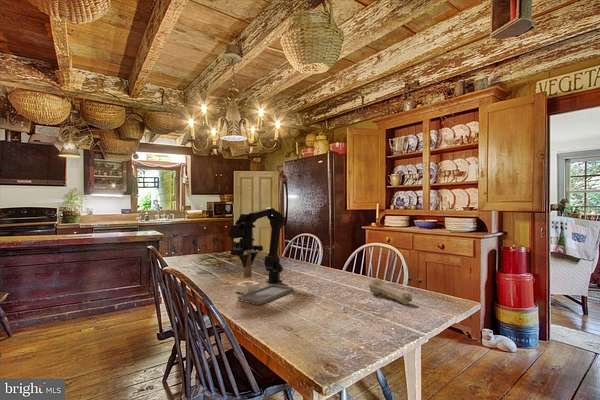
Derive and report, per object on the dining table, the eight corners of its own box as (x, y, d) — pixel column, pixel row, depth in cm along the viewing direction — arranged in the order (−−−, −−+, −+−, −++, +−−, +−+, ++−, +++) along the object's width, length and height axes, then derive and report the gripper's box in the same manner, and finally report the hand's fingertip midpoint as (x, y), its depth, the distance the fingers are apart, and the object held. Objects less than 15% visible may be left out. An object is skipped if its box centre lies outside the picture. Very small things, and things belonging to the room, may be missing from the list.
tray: (272, 287, 168) (272, 283, 168) (293, 291, 160) (293, 287, 160) (237, 299, 147) (237, 296, 147) (259, 305, 139) (259, 301, 139)
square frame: (247, 287, 167) (247, 280, 167) (260, 290, 162) (259, 282, 162) (235, 292, 160) (235, 284, 160) (247, 294, 155) (247, 286, 155)
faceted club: (378, 288, 160) (419, 304, 138) (366, 296, 155) (407, 313, 134) (375, 273, 158) (416, 286, 137) (363, 280, 154) (403, 295, 133)
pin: (247, 275, 164) (247, 253, 164) (253, 276, 162) (252, 253, 162) (242, 277, 160) (241, 254, 161) (247, 278, 158) (247, 255, 158)
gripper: (248, 234, 173) (248, 261, 173) (222, 237, 158) (223, 268, 158) (263, 235, 167) (263, 264, 167) (238, 239, 152) (238, 270, 152)
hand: (247, 266), depth 161 cm, fingers closed on pin, 4 cm apart
